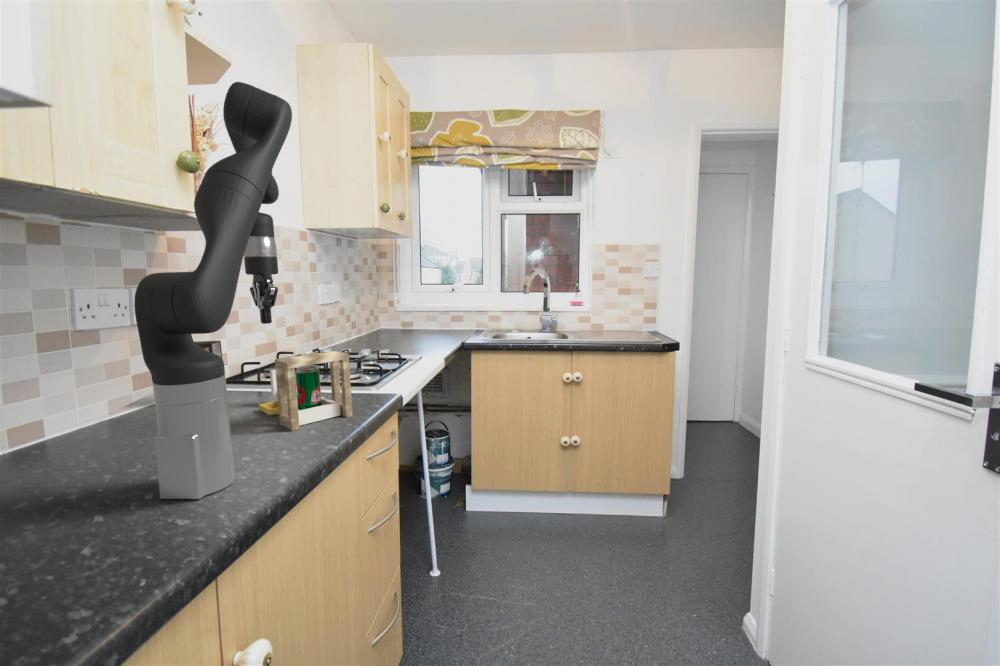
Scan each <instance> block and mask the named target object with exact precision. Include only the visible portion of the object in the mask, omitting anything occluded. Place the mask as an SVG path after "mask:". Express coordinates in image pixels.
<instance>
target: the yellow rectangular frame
mask: <svg viewBox="0 0 1000 666" xmlns="http://www.w3.org/2000/svg"><path fill="white" fill-rule="evenodd" d="M260 411H261V412H260ZM258 412H260V413H262V412H263V413H262V414H264V413H265V414H264V415H266V414H267V415H266V416H268V415H269V416H268V417H270V416H272V417H274V416H273V415H276V416H278V415H277V414H279V407H278V400H274V401H270V402H264V403H259V404H258Z"/></svg>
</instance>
